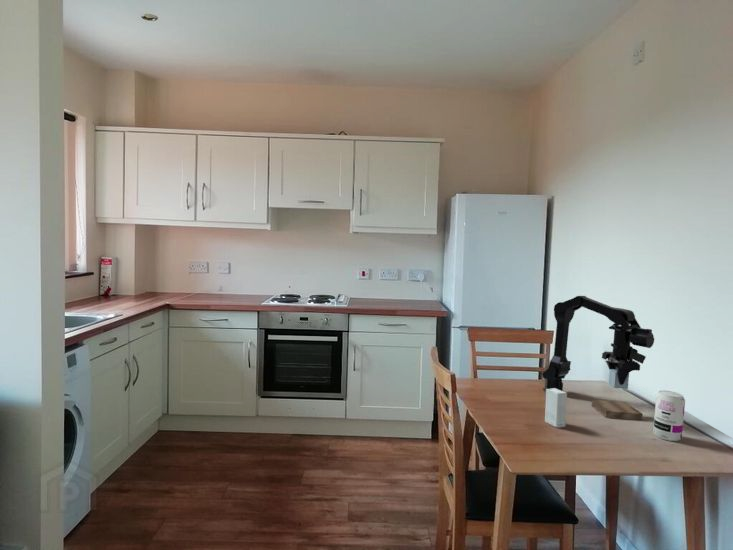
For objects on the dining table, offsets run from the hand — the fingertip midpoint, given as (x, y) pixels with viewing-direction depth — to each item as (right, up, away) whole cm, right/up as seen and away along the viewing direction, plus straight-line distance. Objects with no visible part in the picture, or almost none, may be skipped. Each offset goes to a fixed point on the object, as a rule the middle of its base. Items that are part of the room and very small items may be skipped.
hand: (618, 382), depth 181 cm
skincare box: (-31, -11, -15) cm, 36 cm away
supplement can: (+5, -14, -22) cm, 26 cm away
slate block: (0, -2, 0) cm, 2 cm away
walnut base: (0, -12, +1) cm, 12 cm away
